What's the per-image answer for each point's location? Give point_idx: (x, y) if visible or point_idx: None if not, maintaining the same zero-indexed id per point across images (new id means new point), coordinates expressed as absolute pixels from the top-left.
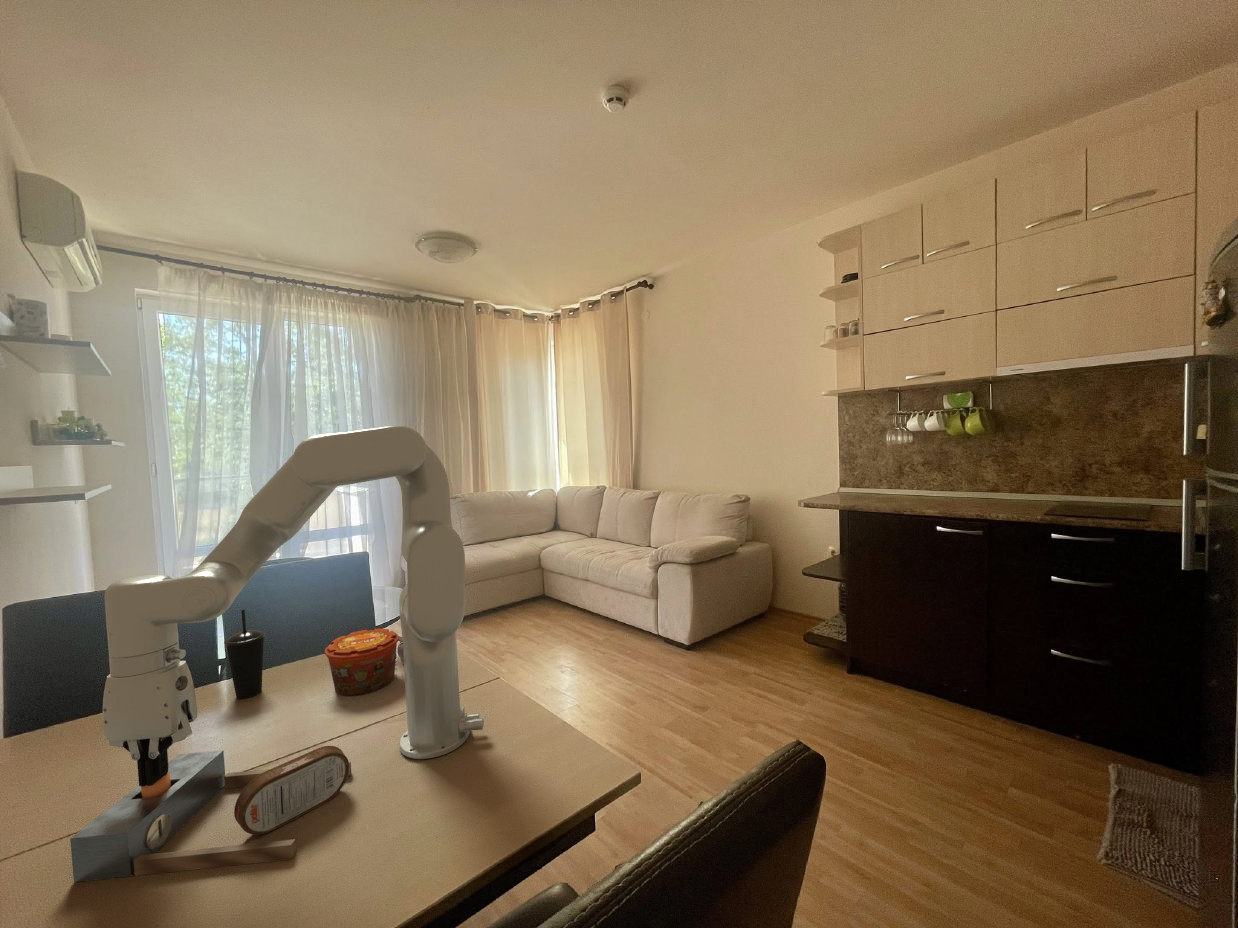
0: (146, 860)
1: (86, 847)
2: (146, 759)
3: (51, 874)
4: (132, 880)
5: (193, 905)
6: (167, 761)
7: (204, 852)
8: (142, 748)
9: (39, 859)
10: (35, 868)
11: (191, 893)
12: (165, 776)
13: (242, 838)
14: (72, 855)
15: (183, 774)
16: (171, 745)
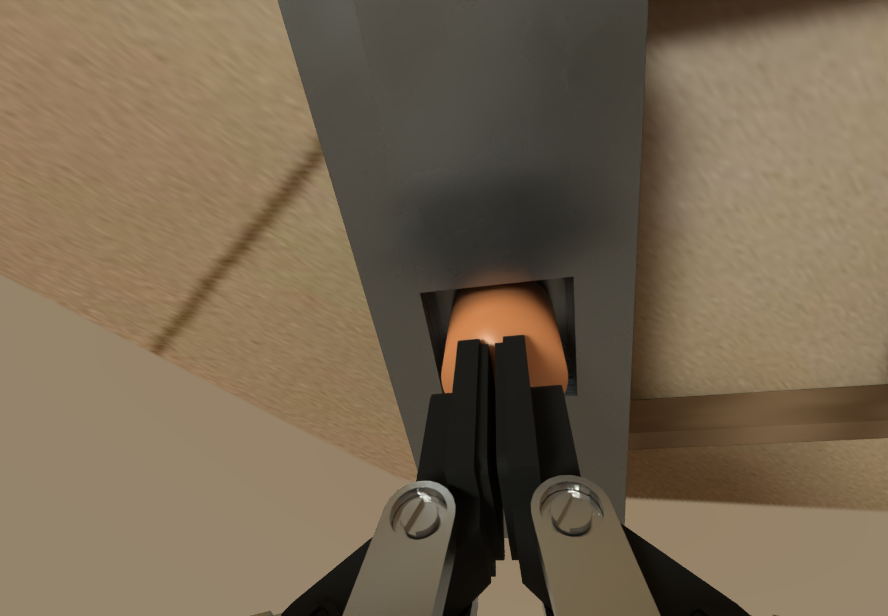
0: (651, 447)
1: None
2: (511, 554)
3: (357, 404)
4: None
5: (842, 487)
6: (568, 422)
7: (835, 435)
8: (451, 612)
9: (252, 363)
10: (285, 387)
11: (815, 463)
12: (542, 361)
13: (885, 308)
14: None
15: (555, 241)
16: (605, 495)
